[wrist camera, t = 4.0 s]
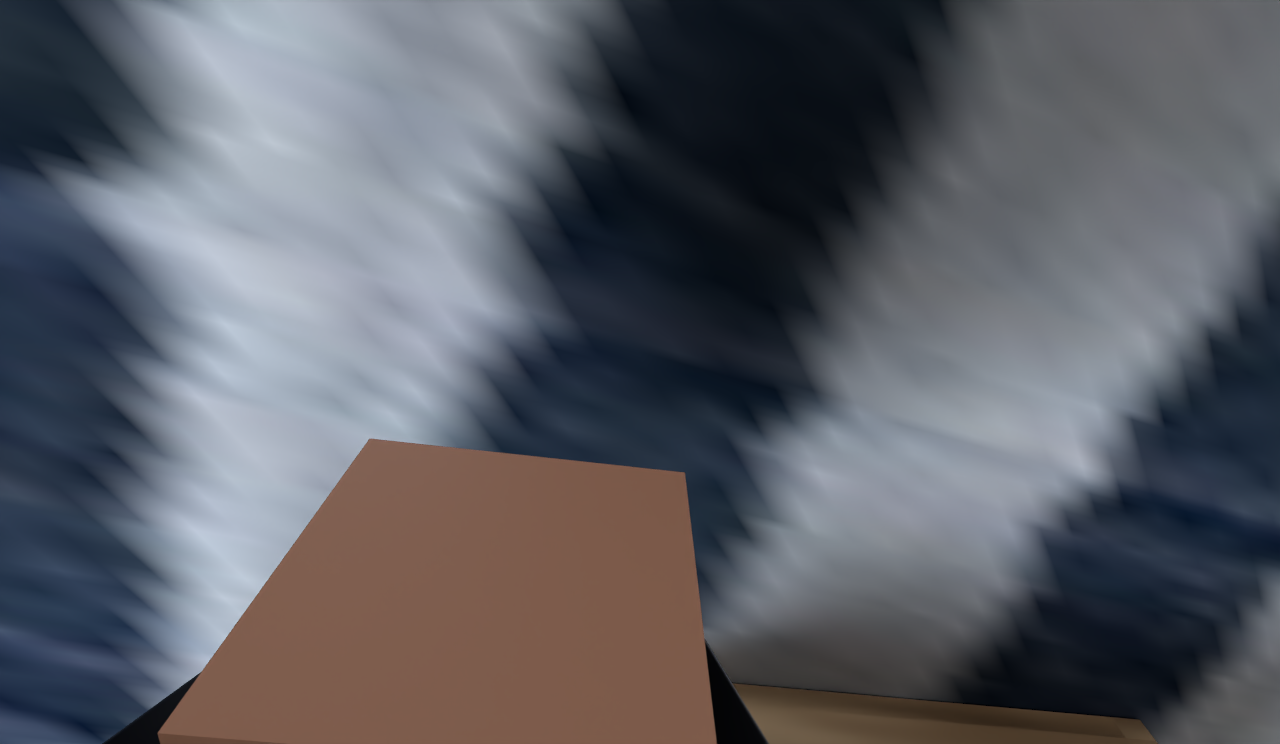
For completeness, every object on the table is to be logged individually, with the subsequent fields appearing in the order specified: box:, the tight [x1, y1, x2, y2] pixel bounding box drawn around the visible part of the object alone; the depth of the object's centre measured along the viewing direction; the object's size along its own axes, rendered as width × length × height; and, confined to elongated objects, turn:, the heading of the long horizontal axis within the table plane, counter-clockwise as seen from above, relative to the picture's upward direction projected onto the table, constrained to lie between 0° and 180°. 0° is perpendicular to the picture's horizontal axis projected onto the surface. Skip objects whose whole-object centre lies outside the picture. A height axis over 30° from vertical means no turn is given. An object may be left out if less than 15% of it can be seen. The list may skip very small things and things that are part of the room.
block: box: [158, 439, 717, 744], centre depth 7 cm, size 4×4×4 cm
